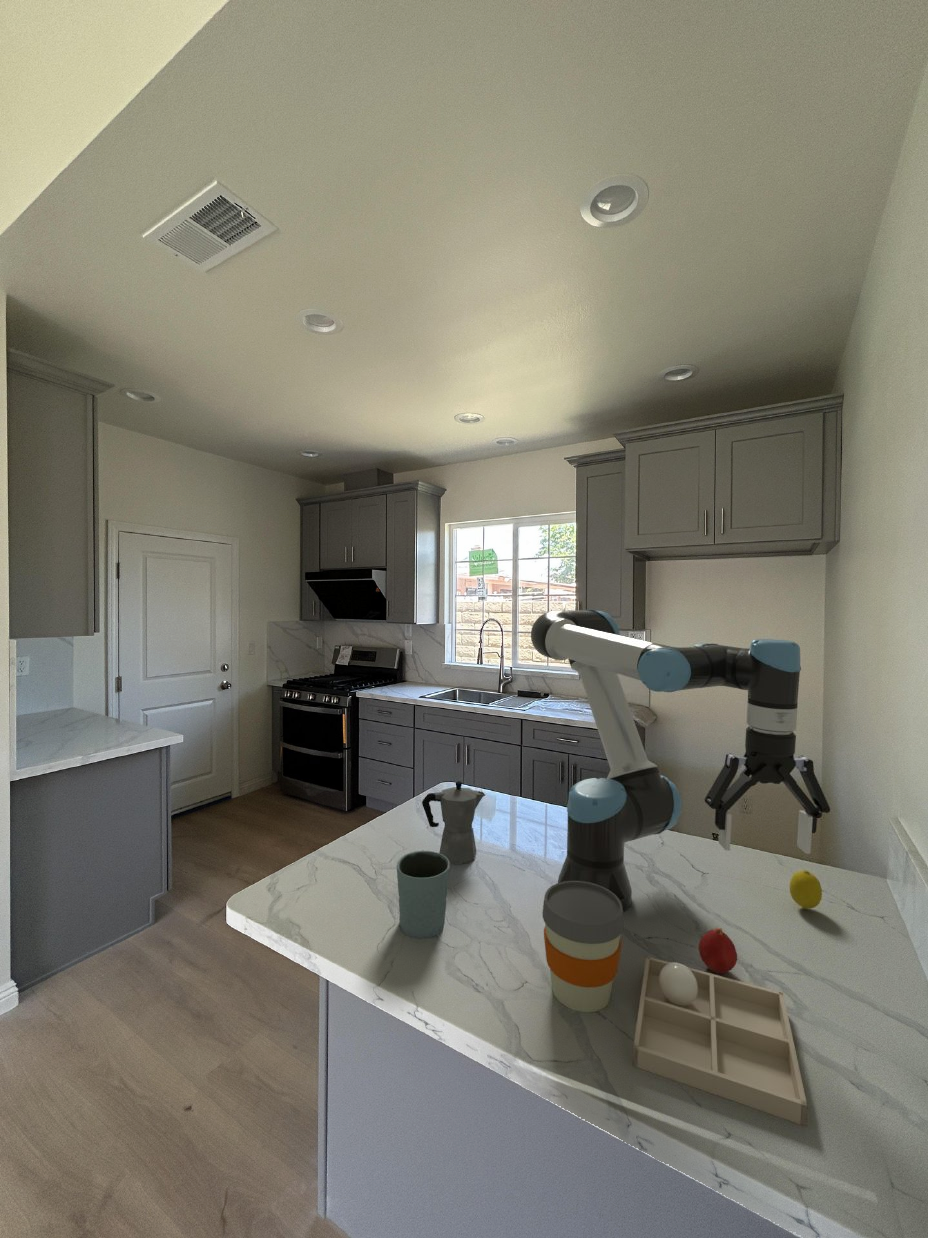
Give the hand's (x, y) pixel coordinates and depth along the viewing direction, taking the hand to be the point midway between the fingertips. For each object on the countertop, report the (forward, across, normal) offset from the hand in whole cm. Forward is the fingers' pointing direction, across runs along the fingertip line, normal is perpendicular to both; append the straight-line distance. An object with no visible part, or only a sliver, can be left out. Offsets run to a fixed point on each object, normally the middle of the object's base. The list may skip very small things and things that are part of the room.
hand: (763, 848), depth 94 cm
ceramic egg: (+19, -19, -13) cm, 29 cm away
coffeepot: (+20, -56, +32) cm, 68 cm away
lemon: (+20, +16, +14) cm, 29 cm away
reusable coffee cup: (+20, -33, -11) cm, 40 cm away
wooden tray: (+19, -16, -19) cm, 31 cm away
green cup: (+20, -60, +4) cm, 64 cm away
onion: (+19, -10, -6) cm, 22 cm away
